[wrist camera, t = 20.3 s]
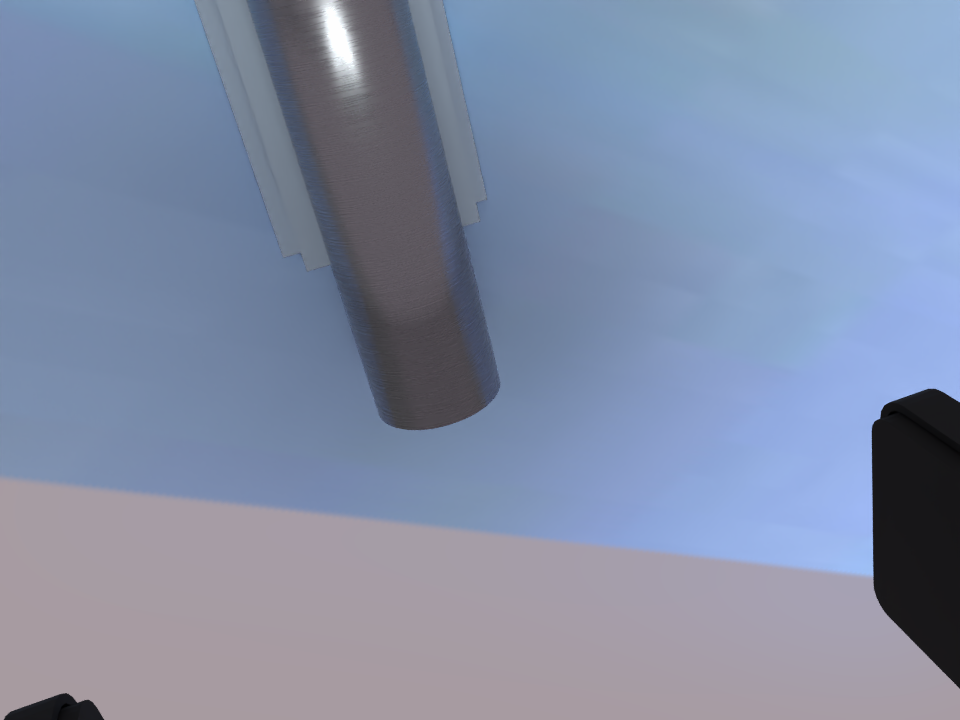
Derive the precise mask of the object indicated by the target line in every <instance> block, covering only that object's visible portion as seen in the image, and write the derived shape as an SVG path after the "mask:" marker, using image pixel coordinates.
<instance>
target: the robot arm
mask: <svg viewBox="0 0 960 720" xmlns="http://www.w3.org/2000/svg"><path fill="white" fill-rule="evenodd" d="M872 490H873V572H874V590H875V593H876V597H877V599H878V601H879V603H880V605H881V607H882V608H883V610H884V611H885V613H886V614H887V615H888V616H889V617H890V618H891V619H892V620H893V621H894V622H895V623H896V624H897V625H898V626H899V627H900V628H901V629H902V630H903V631H904V632H905V634H907V636H909V638H910V639H911V640H912V641H913V642H914V643H915V644H916V645H917V646H918V647H919V648H920V649H921V650H922V651H923V652H924V653H925V654H926V655H927V656H928V657H929V658H930V659H931V660H932V661H933V662H934V663H935V664H936V665H937V666H938V667H939V668H940V669H941V670H942V671H943V672H944V673H945V674H946V675H947V676H948V677H949V678H950V679H951V680H952V681H953V682H954V683H955V684H956V685H957V686H958V687H959V688H960V402H958V401H956V400H955V399H953V398H952V397H950V396H948V395H947V394H945V393H944V392H941V391H939V390H937V389H927V390H924V391H921V392H918V393H915V394H912V395H910V396H907V397H904V398H901V399H898V400H895V401H892V402H890V403H888V404H886V405H884V407H883V409H882V411H881V417H880V419H878V420H877V421H875V422H874V424H873V426H872ZM4 720H104V719H103V717H102V716H101V714H100V712H99V711H98V709H97V707H96V706H95V705H94V703H93V702H91V701H90V700H84V701H82V702H79V703H77V702H76V701H75V700H74V698H73V697H72V696H70V695H69V694H67V693H65V694H59V695H57V696H54V697H51V698H48V699H45V700H42V701H40V702H37V703H34V704H31V705H29V706H25V707H23V708H20V709H17V710H14V711H11V712H10V713H9V714H8V715H7V716H5V719H4Z"/></svg>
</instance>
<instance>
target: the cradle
mask: <svg viewBox="0 0 960 720" xmlns="http://www.w3.org/2000/svg"><path fill="white" fill-rule="evenodd" d="M194 1H195V4H196V7H197V10H198V13H199V15H200V18H201V21H202V24H203V27H204V30H205V33H206V36H207V39H208V42H209V44H210V47H211V50H212V53H213V56H214V59H215V62H216V65H217V68H218V70H219V73H220V76H221V79H222V82H223V85H224V88H225V91H226V94H227V96H228V99H229V102H230V105H231V108H232V111H233V114H234V117H235V120H236V122H237V125H238V128H239V131H240V134H241V137H242V140H243V143H244V146H245V148H246V151H247V154H248V157H249V160H250V163H251V166H252V169H253V172H254V174H255V177H256V180H257V183H258V186H259V189H260V192H261V195H262V198H263V200H264V203H265V206H266V209H267V212H268V215H269V218H270V221H271V224H272V227H273V229H274V232H275V235H276V238H277V241H278V244H279V247H280V250H281V253H282V255H283V258H285V257H288V256H292V255H295V254H299V253H301V255H302V258H303V261H304V264H305V267H306V270H307V272H308V271H311V270H315V269H318V268H322V267H325V266H328V265H331V264H330V260H329V257H328V254H327V251H326V248H325V245H324V242H323V239H322V236H321V232H320V229H319V226H318V223H317V220H316V217H315V214H314V211H313V207H312V204H311V201H310V198H309V195H308V192H307V189H306V186H305V183H304V179H303V176H302V173H301V170H300V167H299V164H298V161H297V158H296V154H295V151H294V148H293V145H292V142H291V139H290V136H289V133H288V130H287V126H286V123H285V120H284V117H283V114H282V111H281V108H280V105H279V101H278V98H277V95H276V92H275V89H274V86H273V83H272V80H271V77H270V73H269V70H268V67H267V64H266V61H265V58H264V55H263V52H262V48H261V45H260V42H259V39H258V36H257V33H256V30H255V27H254V24H253V20H252V17H251V14H250V11H249V8H248V5H247V2H246V0H194ZM408 3H409V7H410V11H411V15H412V19H413V23H414V28H415V32H416V36H417V40H418V44H419V48H420V52H421V56H422V61H423V65H424V69H425V73H426V77H427V81H428V85H429V90H430V94H431V98H432V102H433V106H434V110H435V114H436V118H437V123H438V127H439V131H440V135H441V139H442V143H443V147H444V151H445V156H446V160H447V164H448V168H449V172H450V176H451V180H452V184H453V189H454V193H455V197H456V201H457V205H458V209H459V213H460V218H461V222H462V226H466V225H470V224H473V223H477V222H480V217H479V213H478V209H477V204H476V202H480V201H483V200H487V196H486V192H485V187H484V183H483V178H482V174H481V169H480V165H479V161H478V156H477V152H476V147H475V143H474V138H473V134H472V129H471V125H470V121H469V116H468V112H467V107H466V103H465V98H464V94H463V90H462V85H461V81H460V76H459V72H458V67H457V63H456V58H455V54H454V50H453V45H452V41H451V36H450V32H449V27H448V23H447V19H446V14H445V10H444V5H443V1H442V0H408Z"/></svg>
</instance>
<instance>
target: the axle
mask: <svg viewBox="0 0 960 720" xmlns="http://www.w3.org/2000/svg"><path fill="white" fill-rule="evenodd" d="M246 2H247V5H248V8H249V11H250V14H251V17H252V20H253V24H254V27H255V30H256V33H257V36H258V39H259V42H260V45H261V48H262V52H263V55H264V58H265V61H266V64H267V67H268V70H269V73H270V77H271V80H272V83H273V86H274V89H275V92H276V95H277V98H278V101H279V105H280V108H281V111H282V114H283V117H284V120H285V123H286V126H287V130H288V133H289V136H290V139H291V142H292V145H293V148H294V151H295V154H296V158H297V161H298V164H299V167H300V170H301V173H302V176H303V179H304V183H305V186H306V189H307V192H308V195H309V198H310V201H311V204H312V207H313V211H314V214H315V217H316V220H317V223H318V226H319V229H320V232H321V236H322V239H323V242H324V245H325V248H326V251H327V254H328V257H329V260H330V264H331V267H332V270H333V273H334V276H335V279H336V282H337V285H338V289H339V292H340V295H341V298H342V301H343V304H344V307H345V310H346V313H347V317H348V320H349V323H350V326H351V329H352V332H353V335H354V338H355V342H356V345H357V348H358V351H359V354H360V357H361V360H362V363H363V366H364V370H365V373H366V376H367V379H368V382H369V385H370V388H371V391H372V395H373V398H374V401H375V404H376V407H377V410H378V413H379V416H380V418H381V419H382V420H383V421H384V422H385V423H387V424H389V425H390V426H393V427H396V428H400V429H407V430H425V429H433V428H438V427H443V426H446V425H450V424H453V423H456V422H459V421H461V420H463V419H466V418H468V417H470V416H472V415H474V414H475V413H477V412H479V411H480V410H482V409H483V408H484V407H486V406H487V405H488V404H489V403H490V402H491V401H492V400H493V399H494V397H495V396H496V395H497V393H498V391H499V388H500V379H499V374H498V370H497V366H496V362H495V358H494V354H493V350H492V346H491V341H490V337H489V333H488V329H487V325H486V321H485V317H484V312H483V308H482V304H481V300H480V296H479V292H478V288H477V284H476V279H475V275H474V271H473V267H472V263H471V259H470V255H469V251H468V246H467V242H466V238H465V234H464V230H463V226H462V222H461V218H460V213H459V209H458V205H457V201H456V197H455V193H454V189H453V184H452V180H451V176H450V172H449V168H448V164H447V160H446V156H445V151H444V147H443V143H442V139H441V135H440V131H439V127H438V123H437V118H436V114H435V110H434V106H433V102H432V98H431V94H430V90H429V85H428V81H427V77H426V73H425V69H424V65H423V61H422V56H421V52H420V48H419V44H418V40H417V36H416V32H415V28H414V23H413V19H412V15H411V11H410V7H409V3H408V0H246Z"/></svg>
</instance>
